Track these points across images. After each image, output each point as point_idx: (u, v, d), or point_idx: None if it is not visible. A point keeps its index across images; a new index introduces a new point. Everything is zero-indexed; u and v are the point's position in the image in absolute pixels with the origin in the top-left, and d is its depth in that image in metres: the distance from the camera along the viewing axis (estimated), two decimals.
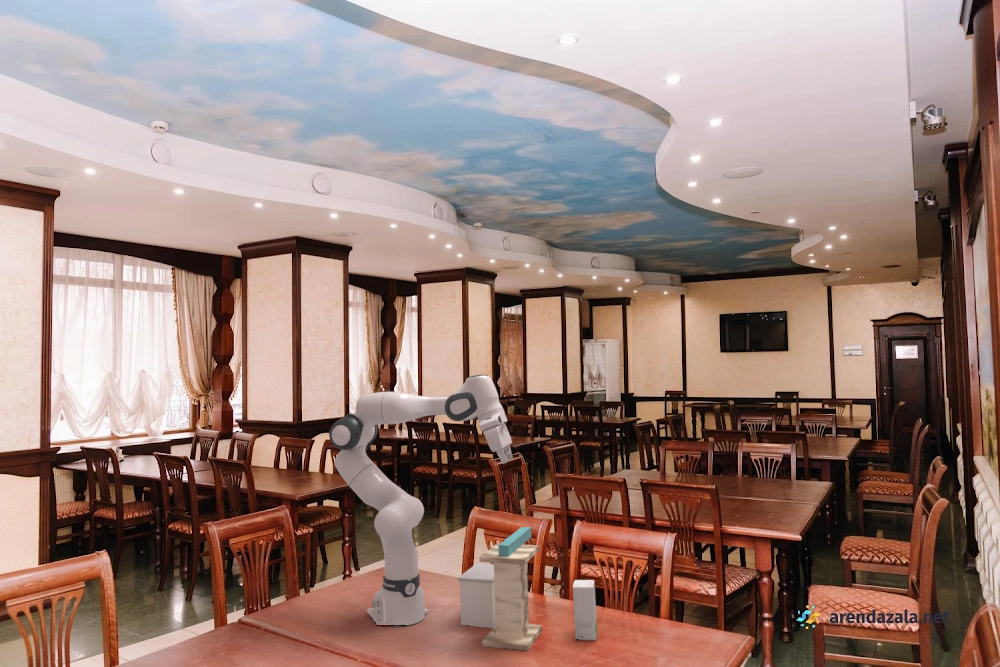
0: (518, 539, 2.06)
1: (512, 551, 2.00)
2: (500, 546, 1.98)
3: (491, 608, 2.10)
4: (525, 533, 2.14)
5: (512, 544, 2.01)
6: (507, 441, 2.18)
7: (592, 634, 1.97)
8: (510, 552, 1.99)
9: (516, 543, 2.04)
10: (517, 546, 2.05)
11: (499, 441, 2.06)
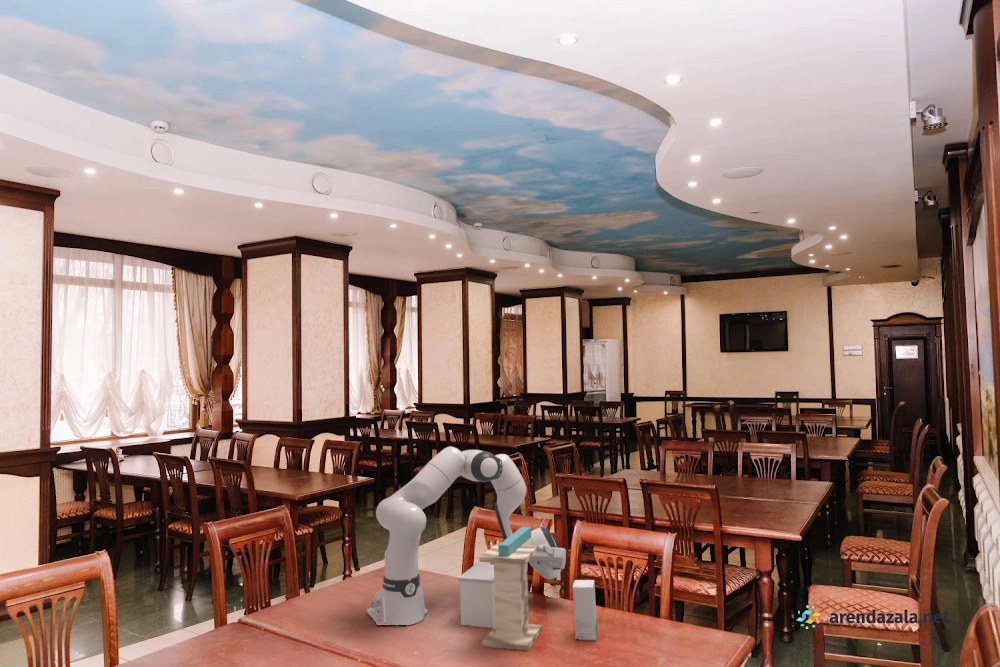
0: (518, 539, 2.06)
1: (512, 551, 2.00)
2: (500, 546, 1.98)
3: (491, 608, 2.10)
4: (525, 533, 2.14)
5: (512, 544, 2.01)
6: None
7: (592, 634, 1.97)
8: (510, 552, 1.99)
9: (516, 543, 2.04)
10: (517, 546, 2.05)
11: (564, 559, 2.26)
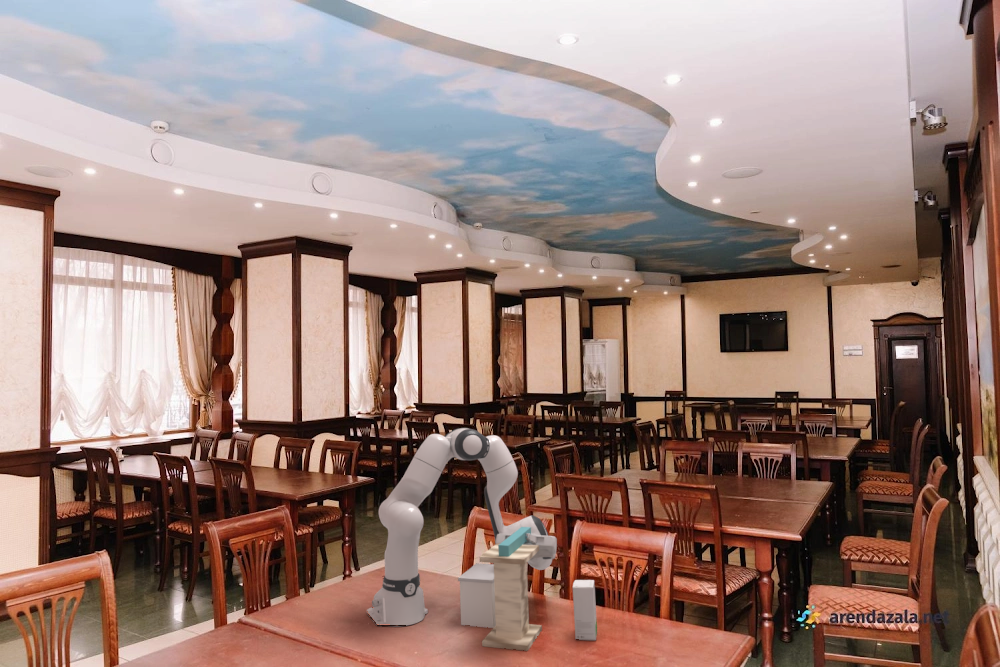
0: (518, 539, 2.06)
1: (512, 551, 2.00)
2: (500, 546, 1.98)
3: (491, 608, 2.10)
4: (525, 533, 2.14)
5: (512, 544, 2.01)
6: None
7: (592, 634, 1.97)
8: (510, 552, 1.99)
9: (516, 543, 2.04)
10: (517, 546, 2.05)
11: (554, 548, 2.15)
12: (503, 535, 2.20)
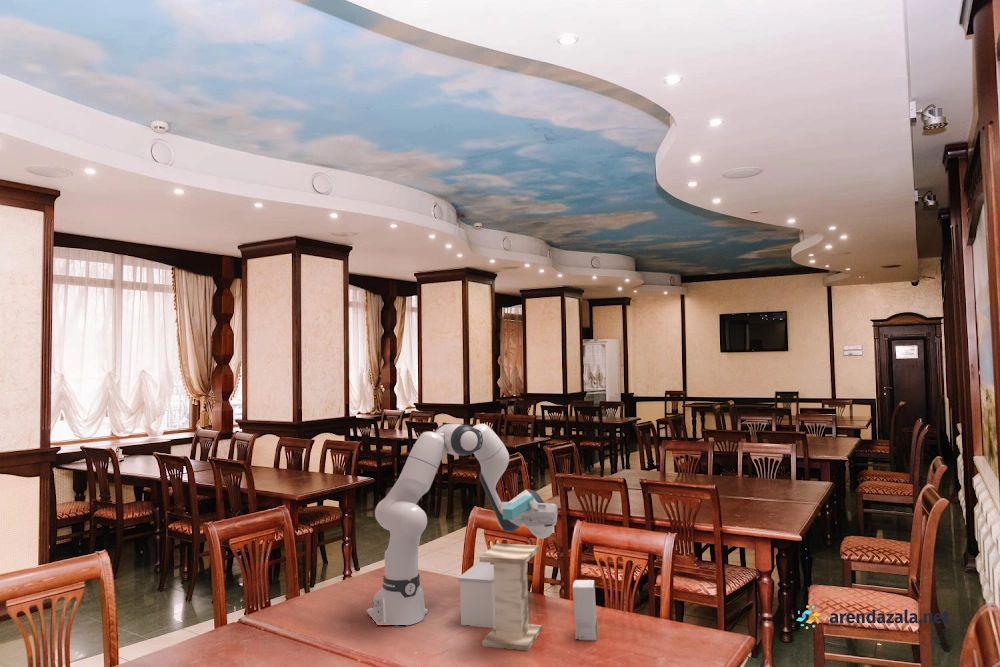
0: (521, 505, 2.19)
1: (515, 515, 2.13)
2: (504, 510, 2.10)
3: (491, 608, 2.10)
4: (528, 500, 2.26)
5: (515, 509, 2.13)
6: (522, 513, 2.30)
7: (592, 634, 1.97)
8: (514, 516, 2.11)
9: (519, 508, 2.16)
10: (520, 511, 2.17)
11: (555, 515, 2.28)
12: (507, 503, 2.33)
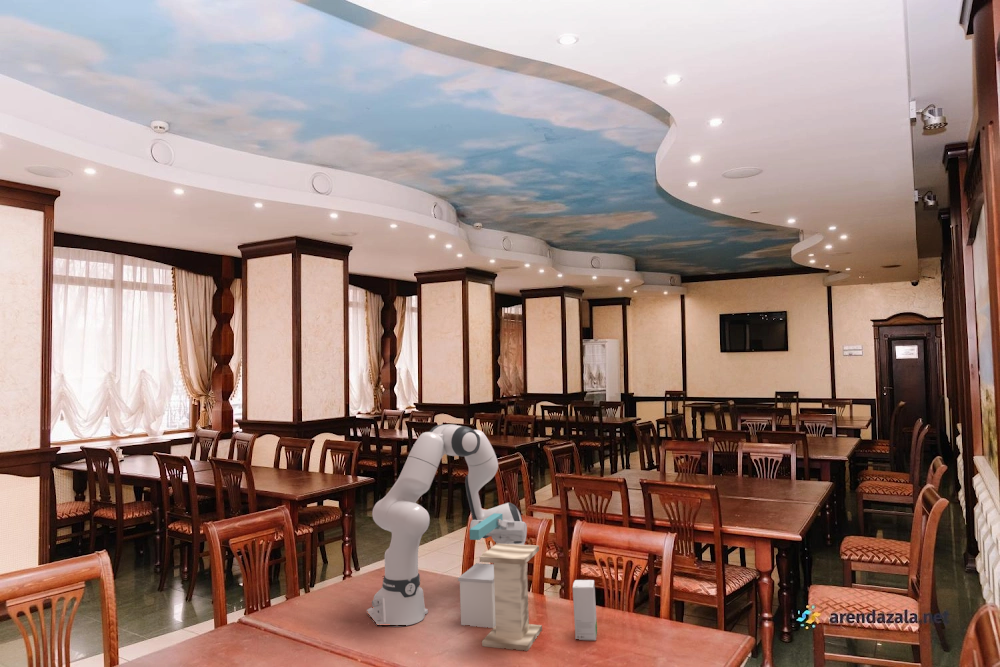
0: (489, 524, 2.22)
1: (482, 535, 2.16)
2: (471, 530, 2.14)
3: (491, 608, 2.10)
4: (496, 519, 2.30)
5: (482, 528, 2.17)
6: (492, 531, 2.34)
7: (592, 634, 1.97)
8: (481, 536, 2.15)
9: (486, 528, 2.20)
10: (487, 530, 2.21)
11: (524, 533, 2.31)
12: (477, 521, 2.36)
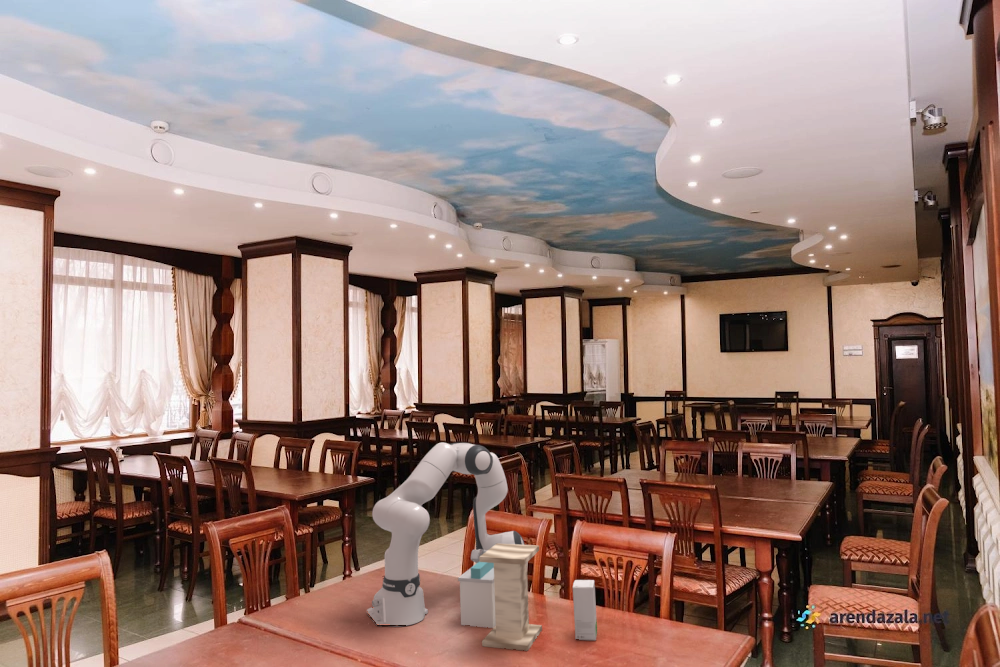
0: None
1: (484, 573, 2.15)
2: (472, 569, 2.13)
3: (491, 608, 2.10)
4: None
5: (484, 567, 2.16)
6: None
7: (592, 634, 1.97)
8: (482, 575, 2.14)
9: (487, 565, 2.19)
10: (489, 568, 2.20)
11: None
12: (477, 551, 2.36)
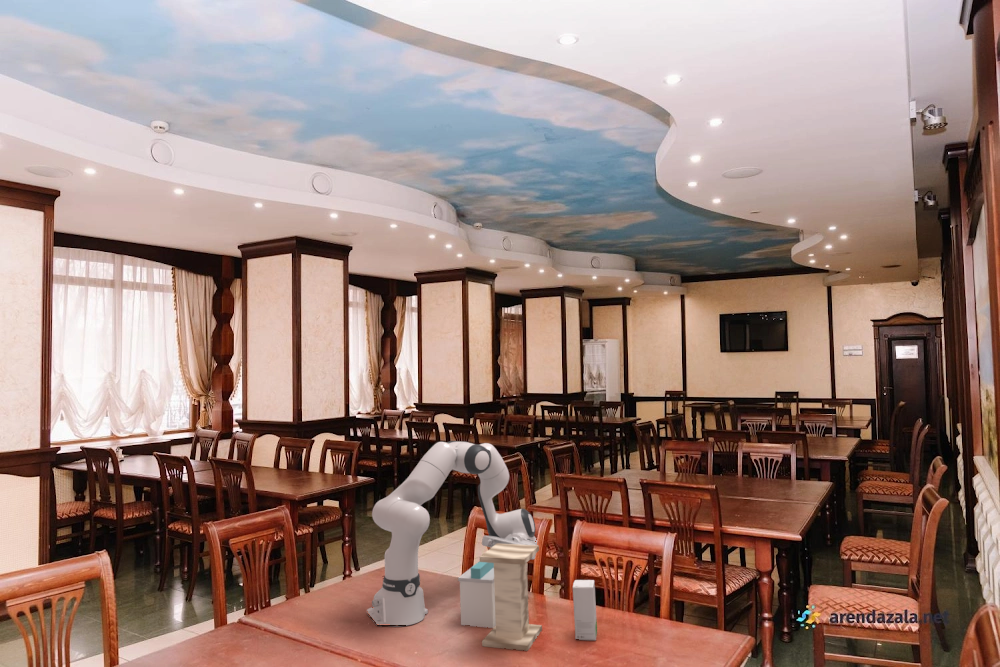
0: None
1: (484, 573, 2.15)
2: (472, 569, 2.13)
3: (491, 608, 2.10)
4: None
5: (484, 567, 2.16)
6: None
7: (592, 634, 1.97)
8: (482, 575, 2.14)
9: (487, 565, 2.19)
10: (489, 568, 2.20)
11: None
12: (488, 538, 2.44)
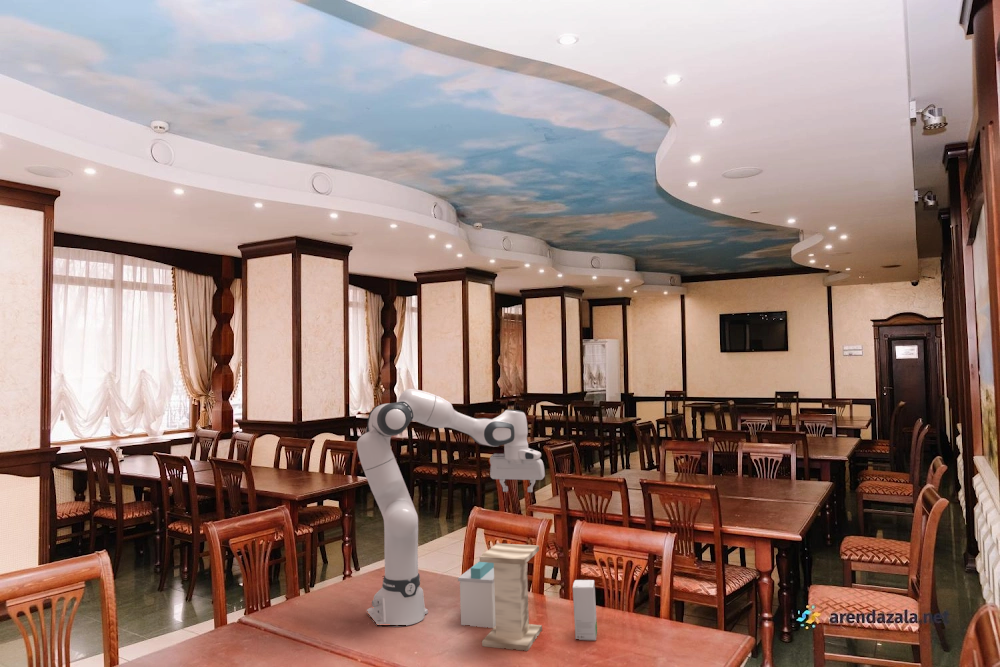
0: None
1: (484, 573, 2.15)
2: (472, 569, 2.13)
3: (491, 608, 2.10)
4: None
5: (484, 567, 2.16)
6: None
7: (592, 634, 1.97)
8: (482, 575, 2.14)
9: (487, 565, 2.19)
10: (489, 568, 2.20)
11: (544, 471, 2.41)
12: (497, 478, 2.44)
